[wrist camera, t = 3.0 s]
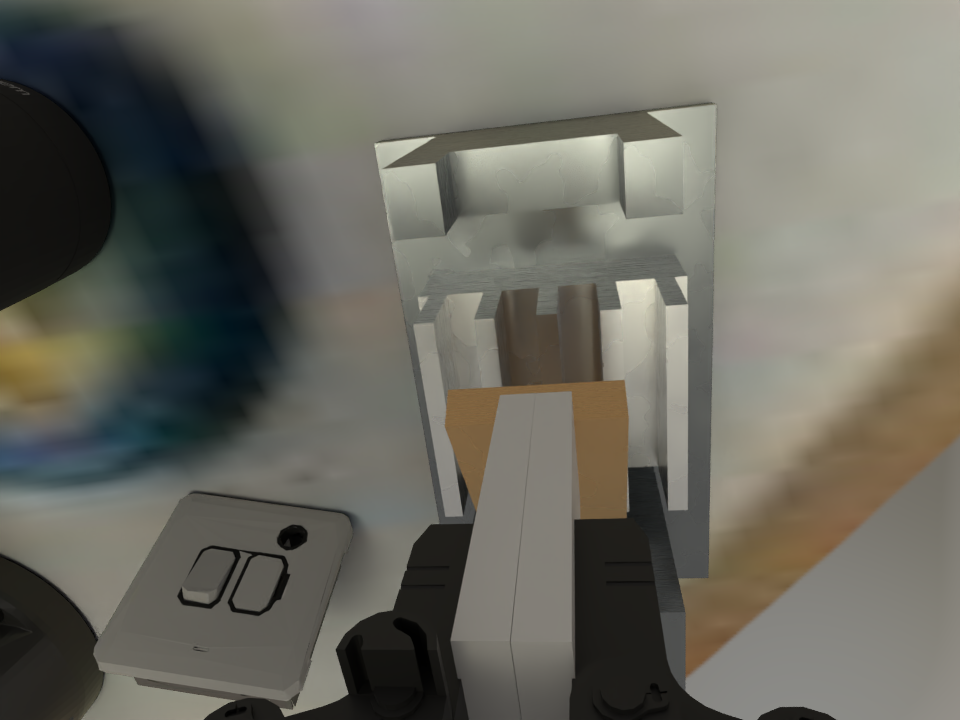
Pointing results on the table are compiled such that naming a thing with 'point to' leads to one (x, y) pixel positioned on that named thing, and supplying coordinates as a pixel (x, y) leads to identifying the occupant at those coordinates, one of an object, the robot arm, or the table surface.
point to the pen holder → (45, 194)
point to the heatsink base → (569, 223)
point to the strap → (595, 434)
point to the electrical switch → (229, 600)
